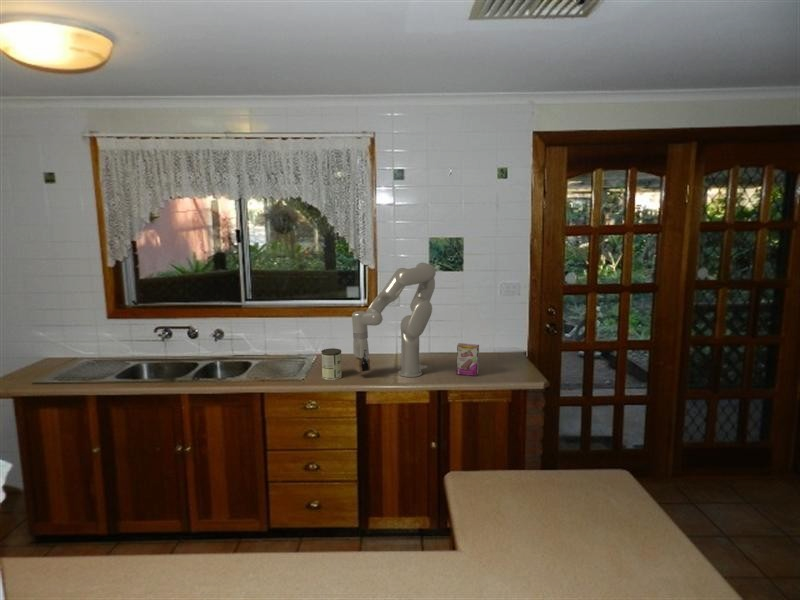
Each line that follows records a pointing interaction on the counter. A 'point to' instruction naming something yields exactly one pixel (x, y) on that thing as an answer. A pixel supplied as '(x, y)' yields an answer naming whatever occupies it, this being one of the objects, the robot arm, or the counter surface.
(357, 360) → the walnut cube
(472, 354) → the candy bar box
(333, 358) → the coffee can
